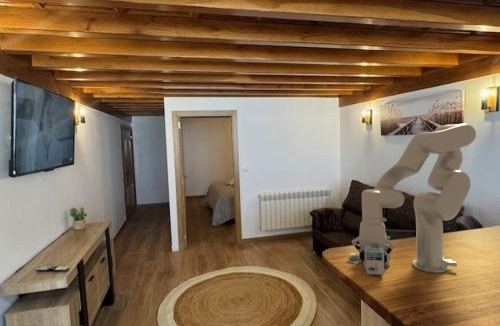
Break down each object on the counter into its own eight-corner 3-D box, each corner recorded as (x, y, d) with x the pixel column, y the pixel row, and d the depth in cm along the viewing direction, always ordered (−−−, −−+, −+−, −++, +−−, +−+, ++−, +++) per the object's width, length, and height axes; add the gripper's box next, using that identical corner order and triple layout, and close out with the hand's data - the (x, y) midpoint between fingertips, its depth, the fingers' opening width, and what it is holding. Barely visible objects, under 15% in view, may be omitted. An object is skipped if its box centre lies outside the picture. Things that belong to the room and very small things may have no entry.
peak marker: (356, 258, 136) (356, 257, 136) (356, 259, 135) (356, 257, 135) (351, 258, 137) (351, 256, 137) (350, 258, 136) (350, 257, 136)
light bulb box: (385, 275, 118) (384, 248, 117) (366, 274, 120) (366, 248, 119) (379, 264, 128) (378, 239, 128) (362, 263, 130) (362, 239, 129)
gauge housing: (390, 257, 138) (390, 236, 137) (389, 268, 127) (389, 245, 126) (351, 253, 145) (351, 232, 144) (347, 262, 134) (347, 240, 134)
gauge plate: (389, 265, 129) (389, 244, 128) (389, 266, 128) (389, 245, 127) (349, 259, 137) (349, 240, 136) (349, 260, 135) (348, 241, 135)
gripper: (396, 219, 122) (396, 261, 123) (351, 216, 130) (352, 256, 131) (395, 224, 115) (396, 268, 116) (348, 221, 123) (349, 263, 124)
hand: (373, 262), depth 124 cm, fingers closed on light bulb box, 7 cm apart
